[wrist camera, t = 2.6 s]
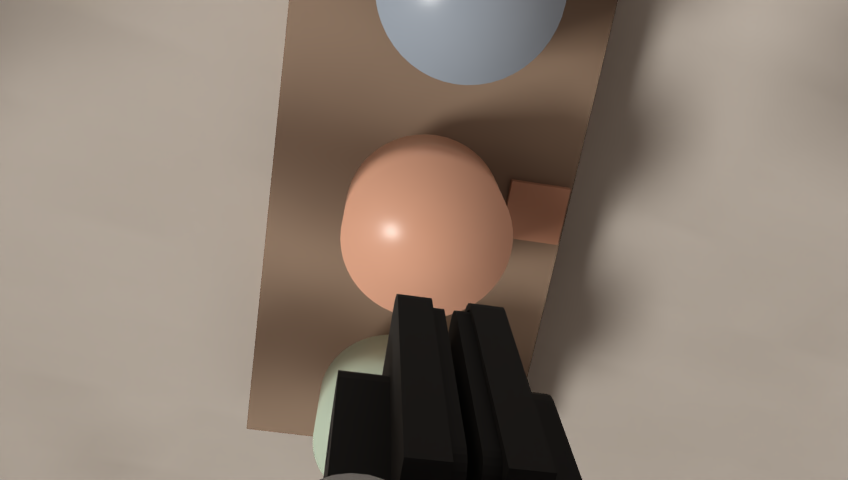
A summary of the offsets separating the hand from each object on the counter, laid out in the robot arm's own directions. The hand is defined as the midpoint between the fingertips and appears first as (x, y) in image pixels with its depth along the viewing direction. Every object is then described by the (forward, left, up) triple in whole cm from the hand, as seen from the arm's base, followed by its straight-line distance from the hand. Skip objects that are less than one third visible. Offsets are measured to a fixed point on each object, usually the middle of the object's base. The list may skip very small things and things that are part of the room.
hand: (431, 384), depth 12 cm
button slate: (+4, -4, -10) cm, 12 cm away
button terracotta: (-1, 0, -10) cm, 10 cm away
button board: (-1, 0, -14) cm, 14 cm away
